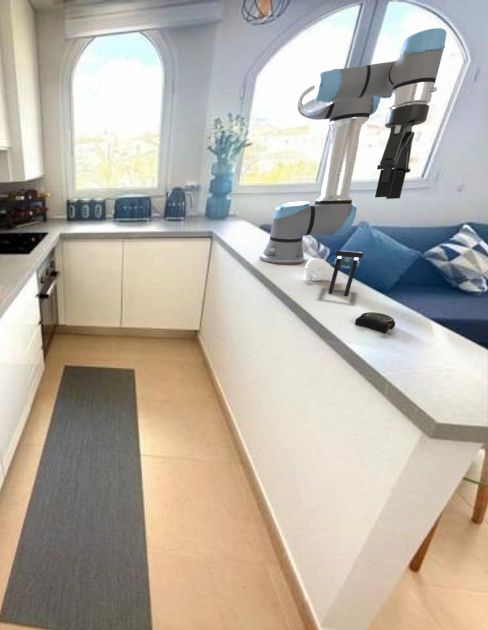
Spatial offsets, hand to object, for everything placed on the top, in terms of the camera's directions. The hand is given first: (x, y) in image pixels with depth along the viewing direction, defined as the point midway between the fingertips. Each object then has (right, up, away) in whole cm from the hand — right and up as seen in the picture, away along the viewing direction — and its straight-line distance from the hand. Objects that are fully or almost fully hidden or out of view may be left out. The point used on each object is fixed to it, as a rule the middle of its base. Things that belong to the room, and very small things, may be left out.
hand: (387, 198), depth 90 cm
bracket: (+2, -25, +19) cm, 31 cm away
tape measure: (-5, -35, -2) cm, 36 cm away
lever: (-3, -16, +10) cm, 19 cm away
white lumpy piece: (+5, -20, +30) cm, 36 cm away
